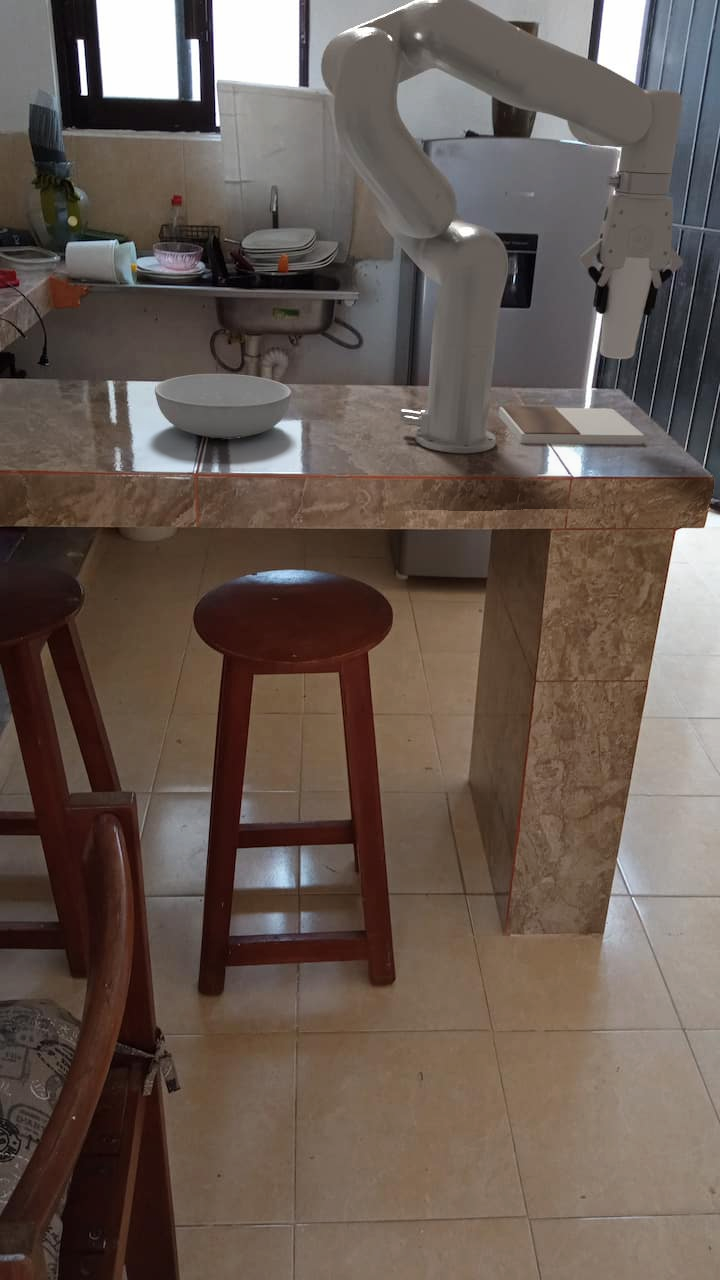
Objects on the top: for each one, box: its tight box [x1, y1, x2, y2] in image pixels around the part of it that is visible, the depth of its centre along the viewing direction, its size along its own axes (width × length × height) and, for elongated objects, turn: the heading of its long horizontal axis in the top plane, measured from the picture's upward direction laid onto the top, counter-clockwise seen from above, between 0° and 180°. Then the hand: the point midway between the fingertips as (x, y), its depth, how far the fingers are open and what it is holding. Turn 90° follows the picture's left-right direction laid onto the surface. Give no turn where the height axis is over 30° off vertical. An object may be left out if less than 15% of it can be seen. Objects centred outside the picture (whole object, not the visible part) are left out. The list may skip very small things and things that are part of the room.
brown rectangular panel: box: [502, 405, 580, 434], centre depth 165 cm, size 9×16×2 cm, turn 5°
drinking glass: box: [599, 257, 653, 360], centre depth 154 cm, size 7×7×15 cm
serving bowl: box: [154, 373, 292, 440], centre depth 156 cm, size 21×21×7 cm
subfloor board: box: [498, 406, 645, 445], centre depth 166 cm, size 20×16×2 cm
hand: (622, 312), depth 154 cm, fingers closed on drinking glass, 6 cm apart
